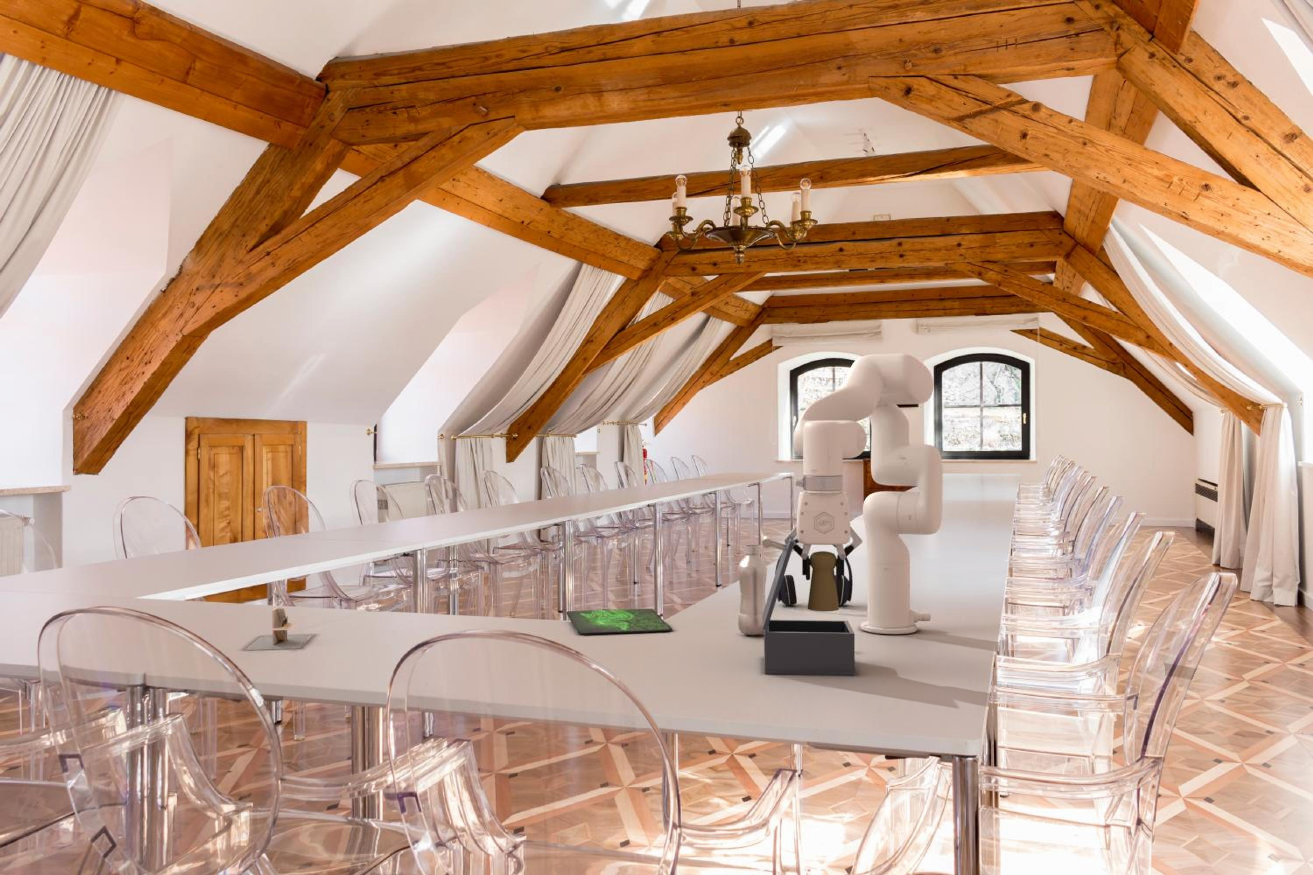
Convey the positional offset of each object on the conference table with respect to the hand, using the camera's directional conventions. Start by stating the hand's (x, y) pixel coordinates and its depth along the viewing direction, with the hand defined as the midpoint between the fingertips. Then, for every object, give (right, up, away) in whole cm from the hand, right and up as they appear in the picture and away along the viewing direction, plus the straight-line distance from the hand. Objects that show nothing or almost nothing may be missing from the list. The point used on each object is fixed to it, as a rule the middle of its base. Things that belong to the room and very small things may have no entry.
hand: (823, 578), depth 201 cm
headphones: (+9, -17, +72) cm, 75 cm away
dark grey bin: (-3, -17, 0) cm, 17 cm away
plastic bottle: (-11, -17, +32) cm, 38 cm away
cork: (0, -6, 0) cm, 6 cm away
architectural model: (-114, -18, +26) cm, 118 cm away
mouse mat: (-42, -17, +47) cm, 65 cm away
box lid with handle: (-8, -1, +1) cm, 8 cm away
